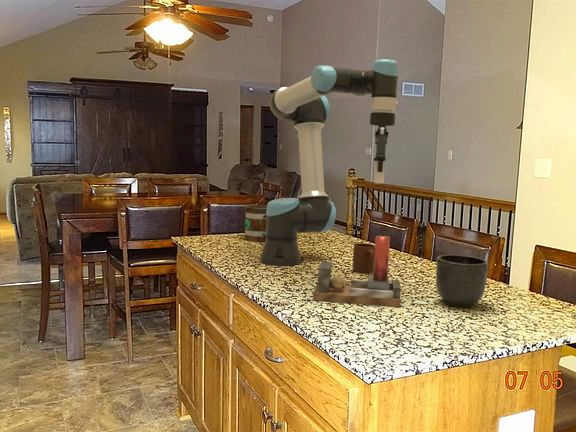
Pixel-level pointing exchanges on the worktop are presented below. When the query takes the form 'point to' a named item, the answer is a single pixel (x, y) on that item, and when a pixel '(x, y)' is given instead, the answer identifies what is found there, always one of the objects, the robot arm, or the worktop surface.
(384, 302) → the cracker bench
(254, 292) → the worktop surface
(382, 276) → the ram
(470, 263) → the planter
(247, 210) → the mug
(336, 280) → the walnut
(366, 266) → the mug
